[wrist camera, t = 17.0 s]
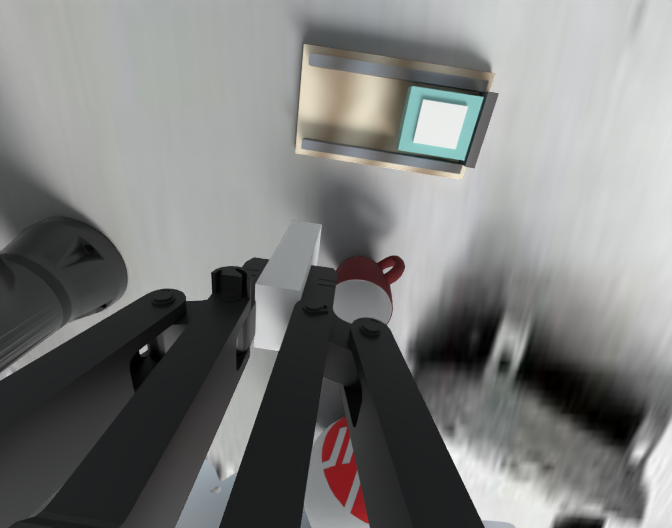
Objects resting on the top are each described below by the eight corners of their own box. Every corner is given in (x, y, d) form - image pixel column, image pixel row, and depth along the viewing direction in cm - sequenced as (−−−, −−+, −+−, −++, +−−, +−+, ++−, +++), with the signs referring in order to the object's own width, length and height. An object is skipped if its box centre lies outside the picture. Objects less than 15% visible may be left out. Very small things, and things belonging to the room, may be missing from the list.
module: (395, 145, 38) (398, 150, 34) (407, 87, 35) (412, 85, 31) (456, 155, 38) (465, 161, 34) (473, 97, 35) (484, 97, 31)
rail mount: (296, 152, 40) (289, 156, 36) (305, 45, 35) (298, 38, 31) (459, 178, 40) (468, 185, 36) (491, 73, 35) (506, 70, 31)
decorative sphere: (438, 404, 57) (470, 544, 39) (398, 470, 66) (409, 608, 48) (328, 374, 56) (309, 503, 38) (302, 445, 65) (277, 575, 47)
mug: (375, 219, 43) (377, 250, 34) (414, 261, 45) (425, 300, 36) (319, 266, 47) (307, 306, 38) (357, 303, 49) (355, 348, 40)
